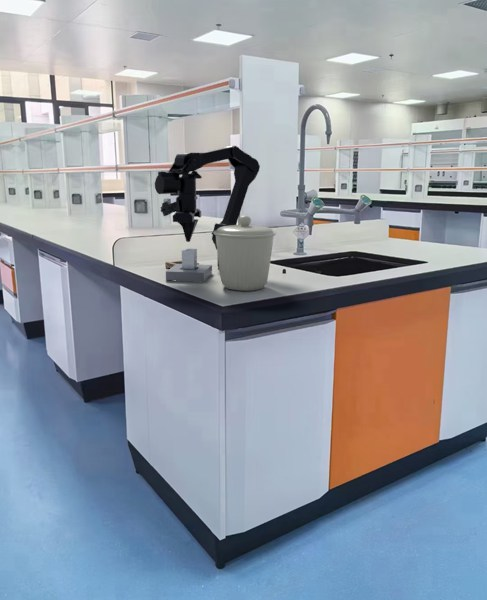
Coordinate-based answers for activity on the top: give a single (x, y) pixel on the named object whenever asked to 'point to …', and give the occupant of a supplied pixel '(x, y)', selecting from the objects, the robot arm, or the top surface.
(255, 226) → the canister
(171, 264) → the walnut stand collar
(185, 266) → the steel key peg
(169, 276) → the grey flat block
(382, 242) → the top surface
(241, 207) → the robot arm
